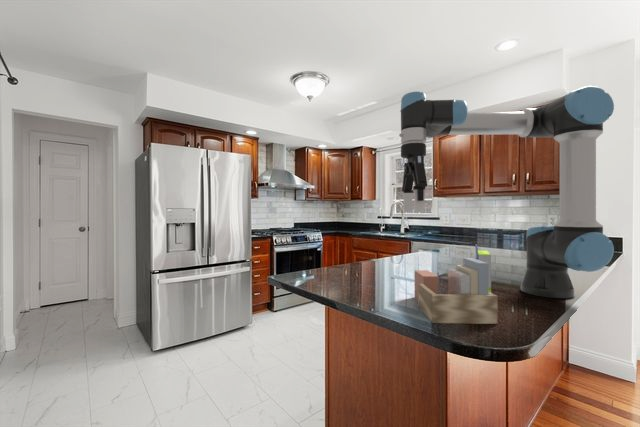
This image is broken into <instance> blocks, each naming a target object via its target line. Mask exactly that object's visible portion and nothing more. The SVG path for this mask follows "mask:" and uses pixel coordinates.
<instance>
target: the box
mask: <svg viewBox="0 0 640 427" xmlns="http://www.w3.org/2000/svg"><path fill="white" fill-rule="evenodd" d="M491 256H492V255H491V253H490V252H489V250H479V247H478V245H477V244H475V259H476V260H480V261H483V262H486V263H489V292H490V293H492V259H491V258H492V257H491Z"/></svg>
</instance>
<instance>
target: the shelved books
mask: <svg viewBox="0 0 640 427" xmlns="http://www.w3.org/2000/svg"><path fill="white" fill-rule="evenodd" d="M462 262H463V264H456V265H455V269H458V270H460V271H462V272H464V273H466V274H469V275H470V295H489V263H486V262H483V261H480V260H476V258H473V257H463V258H462Z"/></svg>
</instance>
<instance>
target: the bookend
mask: <svg viewBox="0 0 640 427" xmlns="http://www.w3.org/2000/svg"><path fill="white" fill-rule="evenodd" d="M447 294H466V295H470V275H469V274H466V273H464V272H462V271H460V270H458V269H456V268H448V269H447Z"/></svg>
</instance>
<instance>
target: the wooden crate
mask: <svg viewBox="0 0 640 427" xmlns="http://www.w3.org/2000/svg"><path fill="white" fill-rule="evenodd" d="M418 309H419V310H420V311H421V310H422V311H421V312H422V313H423V314H424V315H425V316H426V317H427V319H429V320H430V322H432V324H472V325H473V324H477V325H478V324H479V325H482V324H484V325H485V324H486V325H487V324H488V325H489V324H490V325H491V324H492V325H494V324H495V325H496V324H497V325H498V295H496V294H494V293H492V292H491V293H490V292H489V295H466V294H448V293H446V294H445V293H444V294H441V293H440V294H439V293H438V294H435V293H434V292H433V291H431V290H430V289H429V288H427V287H426V286H425V285H424V284H419V301H418Z"/></svg>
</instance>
